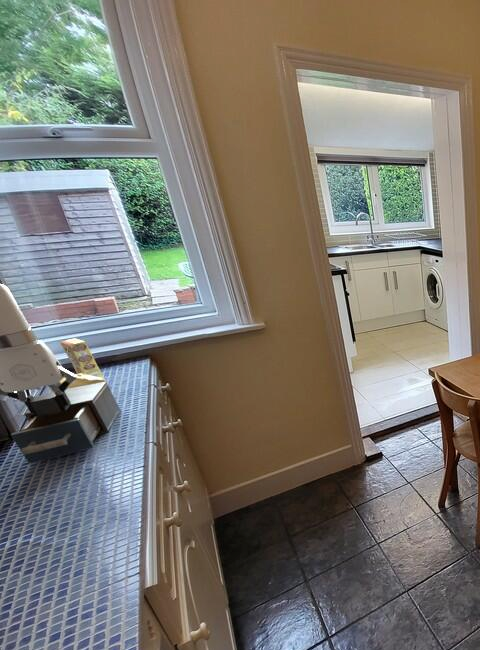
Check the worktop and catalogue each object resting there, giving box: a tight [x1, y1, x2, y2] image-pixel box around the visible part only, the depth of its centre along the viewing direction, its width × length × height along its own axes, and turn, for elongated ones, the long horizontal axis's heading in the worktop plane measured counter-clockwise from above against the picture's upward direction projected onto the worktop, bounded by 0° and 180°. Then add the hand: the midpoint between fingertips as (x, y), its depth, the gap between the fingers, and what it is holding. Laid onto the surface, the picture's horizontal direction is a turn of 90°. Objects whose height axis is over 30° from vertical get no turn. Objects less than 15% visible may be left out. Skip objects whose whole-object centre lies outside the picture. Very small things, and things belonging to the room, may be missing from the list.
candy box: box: [60, 338, 106, 381], centre depth 139 cm, size 9×4×15 cm, turn 61°
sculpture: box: [50, 373, 107, 392], centre depth 122 cm, size 11×12×11 cm
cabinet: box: [23, 381, 121, 435], centre depth 111 cm, size 15×13×10 cm
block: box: [30, 393, 63, 417], centre depth 99 cm, size 4×4×4 cm
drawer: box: [10, 403, 102, 464], centre depth 100 cm, size 18×11×8 cm, turn 32°
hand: (52, 410), depth 100 cm, fingers closed on block, 4 cm apart
